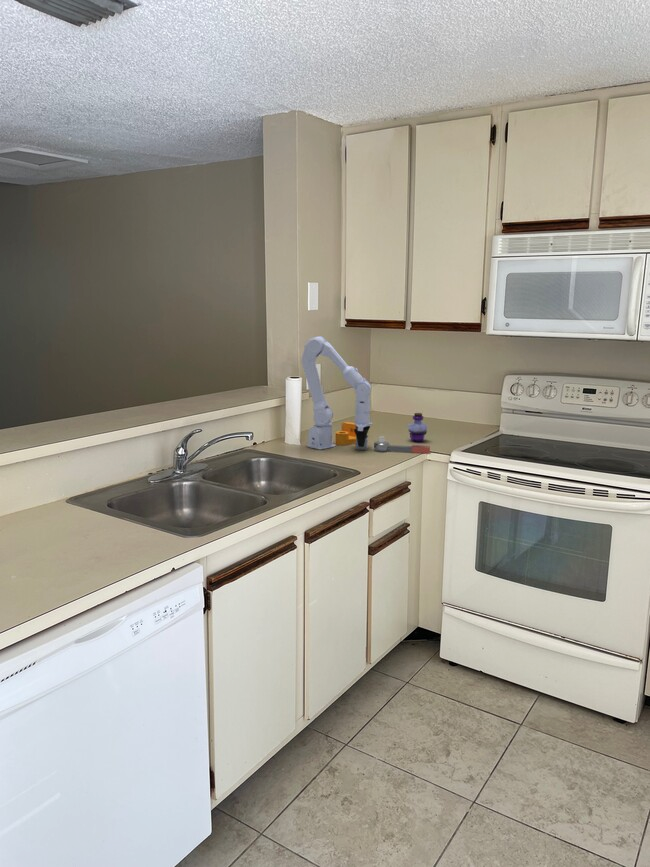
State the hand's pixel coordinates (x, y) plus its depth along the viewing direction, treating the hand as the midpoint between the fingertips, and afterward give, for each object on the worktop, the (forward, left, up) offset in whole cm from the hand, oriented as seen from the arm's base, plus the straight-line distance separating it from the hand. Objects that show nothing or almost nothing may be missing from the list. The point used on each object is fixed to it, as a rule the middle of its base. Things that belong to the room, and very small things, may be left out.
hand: (361, 445), depth 267 cm
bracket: (+10, +13, +2) cm, 16 cm away
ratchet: (+9, -13, -2) cm, 16 cm away
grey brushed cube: (0, 0, -1) cm, 1 cm away
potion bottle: (+28, -6, -2) cm, 29 cm away
